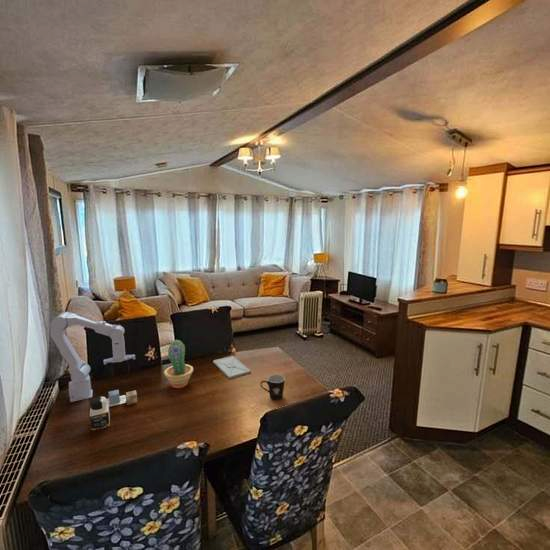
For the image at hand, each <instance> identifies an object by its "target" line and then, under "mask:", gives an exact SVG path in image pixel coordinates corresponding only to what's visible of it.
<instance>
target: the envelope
mask: <svg viewBox="0 0 550 550" xmlns="http://www.w3.org/2000/svg"><path fill="white" fill-rule="evenodd" d="M212 364H213V365H215V366H216V368H218V369H219V371H221V372H222V374H223V375H225V376H226V377H227V378H228V379H229V380H231V379H234V378H237V377H241V376H244V375H248V374H251V372H252V371H251V370H250V368H248V367H247V366H246V365H245V364H243V363H242V362H241V361H240V360H239V359H237V358H236V357H235V356H234V355H231V356H226V357H222V358H219V359H218V358H217V359H214V360H213V361H212Z"/></svg>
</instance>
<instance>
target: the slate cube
mask: <svg viewBox="0 0 550 550" xmlns="http://www.w3.org/2000/svg"><path fill="white" fill-rule="evenodd" d="M119 396H120V390H119V389H115V390H111V391H108V399H109V403H110V404H115V403H119V402H120V398H119Z"/></svg>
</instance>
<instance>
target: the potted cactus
mask: <svg viewBox="0 0 550 550" xmlns="http://www.w3.org/2000/svg"><path fill="white" fill-rule="evenodd" d="M167 355H168V359H169V360H170V361H169V362H170V363H171V366H168V367H167V368H166V369H165V370H164V371H163V373H164V376H165V378H166V379H167V380H168V382H169V383H170V386H171V387H172V388H174V389H175V388H176V389H181V388H184V387H185V386H187V385H188V384H189V380H190V378H191V376H192V374H193V372H194V367H193V366H192V365H190V364H188V363H187V364H186V362H185V355H186V346H185V344H184V343H183V342H182V341H181V340H180V339H179V340H178V339H175V340H172V341H171V343H170V345H169V346H168V349H167Z"/></svg>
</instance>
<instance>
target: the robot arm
mask: <svg viewBox="0 0 550 550" xmlns="http://www.w3.org/2000/svg"><path fill="white" fill-rule="evenodd" d="M49 326H50V337H51V339H52V340H53V341H54V344H55V345H56V347H57V349H58V350H59V352H60V353H61V355H62V357H63V359H64V360H65V361H66V363H67V365H68V366H69V368H68V369H69V370H68V371H69V374H70V379H71V381H69V382H68V396H69V402H70V403H72V402H76V401H81V400H87V399H90V398H93V391H94V390H93V389H92V385H91V376H90V374H89V373H90V372H91V369H92V368H91V366H90V365H89V364H88V363H87V362H86V361H85V360H84V359H81V358H80V356H79V355H78V352H77V351H76V349H75V348H74V346H73V345H72V343H71V341H70V340H69V338H68V336H67V335H66V331H67V329H68V328H71V327H73V326H80V327H85V328H88V329H92V330H94V332H95V333H97V334H101V335H104V336H107V337H109V338H110V339H111V345H112V346H111V347H112V357H110V358H109V357H108V358H105V359H103V365H106V368H107V369H108V370H109V373H110V375H111V378H113V377H114V370H113V363H114V364H115V363H122V362H123V361H127V372H128V374H129V375H130V374H131V369H132V365H133V363H134V360H136V355H135V354H126V346H125V345H126V344H125V336H124V334H125V328H124V327H123V326H122V325H121V324H110V323H107V321H105V320H103V321H98V322H97V321H94V320H90V319H88V318H85V317H83V316H79V315H78V314H76V313H74V312H70V311H62V312H60V314H58V316H56V317H54V318H52V320H51V322H50V324H49Z"/></svg>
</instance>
